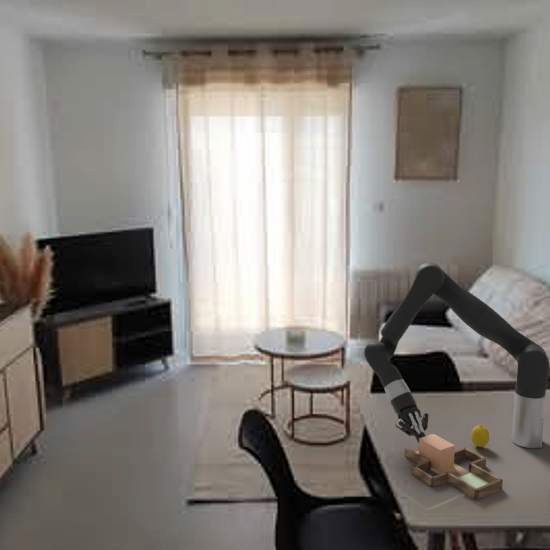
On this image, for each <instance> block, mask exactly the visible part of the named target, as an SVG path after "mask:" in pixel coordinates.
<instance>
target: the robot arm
mask: <svg viewBox="0 0 550 550" xmlns="http://www.w3.org/2000/svg"><path fill="white" fill-rule="evenodd" d="M433 295H435V296H436V297H437V298H439V299H440V300H442V301H443V302H444V303H445V304H446V305H447V306H448V307H449V308H450V309H451V311H453V313H454V314H456V316H457V317H458V319H460V320H461V321H462V322H463V323H465V325H467V326H468V327H469V328H470V329H471V330H473V331H474V332H475V333H476V334H478V335H479V336H481V337H482V338H485V339H487V340H489V341H491V342H492V343H495V344H497V345H499V346H500V347H501V348H503V349H504V350H505V351H506V352H508V354H509V355H511V357H512V358H513V359H514V360H515V361H516V362H517V363H516V364H517V372H516V381H515V385H514V400H513V401H514V402H513V403H514V404H513V414H512V415H513V417H512V430H511V441H512V442H513V443H514V444H515V445H517V446H519V447H523V448H528V449H536V448H537V449H538V448H540V449H542V447H543V438H544V436H543V435H544V424H545V423H544V422H545V417H544V416H545V407H546V406H545V404H546V394H547V393H546V392H547V389H548V385H549V384H548V383H549V373H550V359H549V357H548V354H547V352H546V351H545V350H544V348H543V347H542V346H541V345H539V344H538V343H536V342H534V341H533V340H531V339H529V338H528V337H526V336H525V335H524V334H522V333H520V332H519V331H518V330H517V329H515V328H514V327H513V326H512V325H511V324H510V323H509V322H508V321H507V320H506V319H504V318H503V317H502V316H501V315H500V314H499V313H498V312H497V311H496V310H494V309H493V308H492V307H491V306H489V305H488V304H487V303H485V301H483V300H481V299H480V298H478V297H477V296H476V295H474V294H473V293H471V292H470V291H468V290H467V289H465V288H463V287H462V286H460V285H459V284H458V283H457V282H455V281H454V279H452V278H451V277H450V275H448V274H447V273H446V272H445V271H444V270H443V269H442V267H441V266H440V265H438V264H436V263H434V262H425V263H423V264H421V265H420V266H419V267H418V268H417V270H416V272H415V278H414V280H413V283H412V286H411V287H410V289H409V291H408V293H407V294H406V296H405V297H404V299H403V300H402V301H401V302H400V304H399V305H398V306H397V308H396V309H395V310H394V311H393V312H392V313H391V315H390V316H389V317H388V320H387V321H386V322H385V323H384V325H383V327H381V331H380V334H381V338H380V340H379V342H374V341H373V342H370V343H368V344H366V346H365V348H364V352H363V353H364V358H365V360H366V362H367V364H368V365H369V366H370V368H371V369H372V370H373V372H374V374H376V376H377V377H378V378H379V381H380V383H381V385H382V386H383V388H384V391H385V394H386V397H387V400H388V401H389V403H390V405H391V406H392V409H393V411H394V413H395V414H396V415H397V418H398V421H397V422H396V423H395V427H396V428H397V429H399V430H400V431H401V432H403V433H405V434H406V435H408V436H409V437H415V439H416V441H417V443H418V444H419V438H422V437H425V436H426V434H425V431H427V430H428V427H429V426H428V424H429V413H427V412H425V413H424V412H422V411H421V410H420V408H419V407H418V405H417V402H416V400H415V397H414V395H413V394H412V391H411V389H410V388H409V386H408V385H407V383H406V382H405V380H404V378H403V376H402V374H401V372H400V371H399V369H398V368H397V366H395V365H394V364H392V363H391V362H390V360H391V359H392V358H393V356H394V354H395V352H396V350H397V347H398V345H399V343H400V340H401V339H402V338H403V336H404V335H405V333H406V332H407V330H408V329H409V327H410V326H411V324H412V323H413V321H414V319H415V317H416V316H417V315H418V314H419V312H420V310H421V309H422V308H423V306H424V305H425V304H426V303H427V301H428V300H429V299H430V298H431V297H432V296H433Z"/></svg>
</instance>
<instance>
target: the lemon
mask: <svg viewBox="0 0 550 550" xmlns="http://www.w3.org/2000/svg"><path fill="white" fill-rule="evenodd" d="M470 437H471V438H470V439H471V441H472V443H473V445H474V446H475V447H477V448H484V447H486V446H487V445H488V443H489V441H490V433H489V430H488V428H487V427H485V426H484V425H483V424H478V425H476V426H474V427H473V429H472V430H471V434H470Z"/></svg>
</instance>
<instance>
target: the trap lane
mask: <svg viewBox="0 0 550 550" xmlns="http://www.w3.org/2000/svg"><path fill="white" fill-rule="evenodd" d="M404 457H406V458H407V459H409V460H410V461H413V462H414V463H416V464H415V465H413V466H412V472H411V473H412V474H411V475H413V476H414V477H415V478H417V479H419V480H421V481H422V482H424V483H425V484H427V485H428V486H430V487H432V488H435V487H437V486H440V485H442V484H446V483H448V484H450V485H452V486H453V487H456V488H457V489H459V490H460V491H462V492H463V493H464V494H465V495H467V496H468V497H470V498H471V499H473V500H475V501H478V500H481V499H483V498H485V497H487V496H490V495H492V494H494V493H497V492H500V491H502V490H503V484H504V483H503V480H504V479H502V478H500V477H499V476H497V475H495V474H493V473H490V472H489V471H487V470H485V469H483V468H486V467H487V458H486V457H484V456H483V455H480V454H478V453H476V452H474V451H472V450H471V449H469V448H467V447H463V448H460V449H457V450H455V451H454V466H453V467H451V468H448V469H445V470H443V471H440V472H439V471H438V470H436V469H434V468H433V467H431V461H429V460H427V459H426V458H424V457H422V456H420V455H419V450H417V451H414V450H412V449H410V448H409V447H404ZM469 473H473V474H475V475H476V476H478V477H480V478H482V479H483V480H485V481H487V482H489V484H486V485H484V486H481V487H479V488H475V487H473V486H472V485H470V484H468V483H466V482H465V481H463V480H461V479H460V478H459V477H461V476H464V475H466V474H469Z"/></svg>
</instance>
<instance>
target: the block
mask: <svg viewBox="0 0 550 550" xmlns="http://www.w3.org/2000/svg"><path fill="white" fill-rule="evenodd" d="M455 449H456V445H455V444H453V443H451V442H450V441H448V440H445V439H444V438H442V437H441V436H439V435H436V434H435V433H432V434H428V435H425V437H422V438H419V443H418V451H419V455H420V456H422V457H424V458H426V459H427V460H429V461H431V467H433V468H434V469H436V470H438V471H439V472H440V471H443V470H445V469H448V468H451V467H453V466H454V451H456V450H455Z"/></svg>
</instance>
